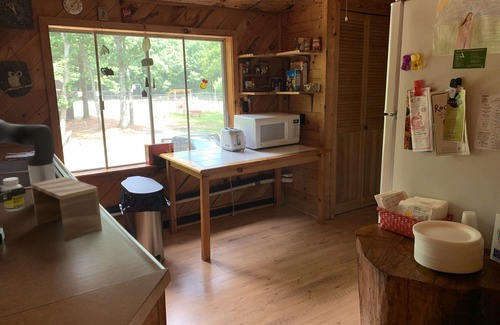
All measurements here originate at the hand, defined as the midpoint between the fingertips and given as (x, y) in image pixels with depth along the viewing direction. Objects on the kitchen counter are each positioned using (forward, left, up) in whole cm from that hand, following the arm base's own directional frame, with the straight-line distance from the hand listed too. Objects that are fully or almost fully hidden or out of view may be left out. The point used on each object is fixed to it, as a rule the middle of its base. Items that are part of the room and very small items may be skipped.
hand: (21, 188), depth 113 cm
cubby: (+2, +12, -17) cm, 21 cm away
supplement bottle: (0, -2, -6) cm, 7 cm away
